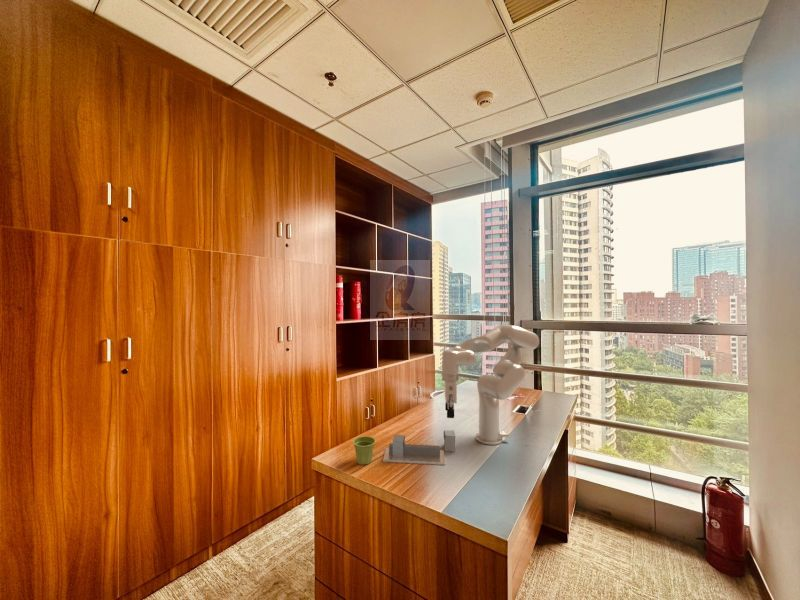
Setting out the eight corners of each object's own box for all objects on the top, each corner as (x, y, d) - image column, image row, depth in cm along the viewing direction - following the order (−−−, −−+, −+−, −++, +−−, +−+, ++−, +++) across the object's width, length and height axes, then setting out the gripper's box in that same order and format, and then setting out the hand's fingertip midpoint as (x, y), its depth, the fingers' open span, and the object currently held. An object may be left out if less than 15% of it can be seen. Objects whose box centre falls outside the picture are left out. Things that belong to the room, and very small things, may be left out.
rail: (443, 452, 141) (443, 434, 141) (445, 465, 130) (445, 445, 130) (386, 449, 143) (386, 431, 143) (383, 461, 132) (383, 442, 132)
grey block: (453, 445, 148) (454, 430, 148) (455, 451, 142) (455, 435, 142) (443, 444, 148) (443, 429, 149) (444, 450, 143) (444, 435, 143)
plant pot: (366, 469, 126) (366, 448, 126) (348, 463, 131) (348, 442, 131) (379, 459, 134) (379, 439, 134) (362, 454, 139) (362, 434, 139)
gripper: (460, 381, 137) (459, 421, 136) (456, 373, 154) (455, 408, 154) (443, 381, 137) (442, 420, 137) (441, 372, 154) (440, 407, 154)
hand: (449, 413), depth 145 cm, fingers open, 9 cm apart
